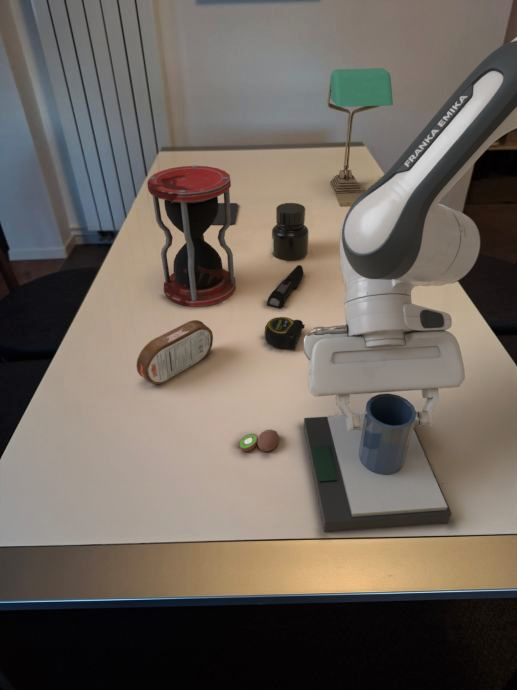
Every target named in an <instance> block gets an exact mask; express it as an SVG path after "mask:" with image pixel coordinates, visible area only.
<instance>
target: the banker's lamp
mask: <svg viewBox="0 0 517 690" xmlns="http://www.w3.org/2000/svg"><path fill="white" fill-rule="evenodd" d="M392 87H393V86H392V77H391V73H390V72H389V71H388V70H387V69H385V68H382V67H375V68H373V67H371V68H342V69H341V68H339V69H338V68H337V69H333V70H332V71H331V74H330V79H329V87H328V95H327V107H328V108H329V109H332V110H335V111H339V112H342V113H347V114H348V115H347V116H348V117H347V127H346V136H345V148H344V159H343V160H344V161H343V169H340V170H339V171H338V174H336V175H334V176H333V177H332V179H331V180H329V185H330V187H331V190H332V192H333V194H334V196H335V200H336V201H337V204H338V206H339V207H340V208H342V207H343V208H347V207H351V206H352V204H353V203H354V202H355V201H356V200H357V198H358V197H359V196H360V195H361V194H362V193H363V190H362V188H361V187H360V185H359V182H358V181H357V179H356V178H355V176H354V175H353V172H352V170H351V169H349V168H350V167H349V166H350V165H349V164H350V155H351V154H350V152H351V142H352V130H353V121H354V116H355V115H356V114H357V113H361V112H362V113H363V112H365V111H369V110H372V109H377V108H380V107H388V106H393V105H394V101H393V89H392ZM331 101H332V102H333V103H334V104H333V103H330V102H331ZM350 107H352V108H354V107H358V108H355V109H353V110H352V112H351V111H350V109H347V108H350Z"/></svg>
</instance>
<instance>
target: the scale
mask: <svg viewBox="0 0 517 690" xmlns="http://www.w3.org/2000/svg"><path fill="white" fill-rule="evenodd" d="M352 414H353V416H360V422H359V423H360V425H361V429H360V430H347V424H346V416H344V415H343V414H332V415H330V414H329V415H327V416H315V417H313V416H312V417H304V418H303V431H304V437H305V442H306V447H307V452H308V458H309V462H310V467H311V473H312V477H313V482H314V488H315V494H316V498H317V505H318V508H319V513H320V519H321V524H322V529H323V533H333V532H347V531H348V532H349V531H360V530H371V529H386V528H400V527H413V526H427V525H428V526H429V525H441V524H449V522H450V519H451V517H452V510H451V509H450V506H449V504H448V501H447V499H446V497H445V495H444V492H443V489H442V488H441V485H440V483H439V480H438V479H437V477H436V475H435V472H434V470H433V468H432V465H431V463H430V460H429V458H428V456H427V453H426V450H425V449H424V446H423V444H422V442H421V440H420V438H419V435H418V433H417V431H416V428H415V427H414V428H413V432H412V436H411V440H410V444H409V448H408V452H407V456H406V460H405V463H404V466H403V467H402V469H401V470H400V471H398V472H397V473H394V474H391V475H380V474H376V473H374V472H371V471H370V470H368V469H367V468H366V467H365V466H364V465H363V464H362V463H361V461H360V459H359V447H360V440H361V434H362V428H363V422H364V415H365V412H363V413H362V412H361V413H352Z"/></svg>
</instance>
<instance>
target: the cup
mask: <svg viewBox="0 0 517 690" xmlns="http://www.w3.org/2000/svg"><path fill="white" fill-rule="evenodd" d="M416 412H417V410H416V409H415V406H414V404H413V403H412V402H411V401H409V400H408V399H407V398H404V397H403V396H400V395H399V394H393V393H380V394H379V393H378V394H376V395H374V396H372V397H370V398H369V399H368V400H367V402H366V405H365V410H364V413H365V415H364V422H363V428H362V434H361V440H360V447H359V459H360V461H361V463H362V464H363V465H364V466H365V467H366V468H367V469H368V470H370V471H371V472H374V473H376V474H380V475H391V474H394V473H397V472H398V471H400V470H401V469H402V467H403V466H404V463H405V460H406V456H407V452H408V448H409V444H410V440H411V436H412V432H413V428H415V424H416V421H417V416H416Z"/></svg>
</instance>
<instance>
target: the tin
mask: <svg viewBox="0 0 517 690" xmlns="http://www.w3.org/2000/svg"><path fill="white" fill-rule="evenodd" d="M213 343H214V334H213V331H212V329H211V328H210V327H208V326H207V325H206V324H205V323H204V322H203V321H201V320H198V319H194V320H189V321H187V322H184V323H182V324H181V325H179V326H177V327H175V328H173V329H171V330H169V331H167V332H165V333H163V334H161V335H159V336H157V337H154V338H153V339H151V340H150V341H149V342H147V344H145V345H144V347H143V348H142V349H141V351H140V352H139V354H138V357H137V359H136V371H137V373H138V375H139V376H140V377H141V378H144V379H145V380H146V381H147V382H148V383H150V384H153V385H161V384H164V383H165V382H168V381H169V380H171V379H173V378H174V377H176V376H178V375H179V374H181V373H184V372H185V371H187V370H188V369H190V368H192V367H194V365H197V364H198V363H200V362H201V361H203V360H205V359H206V357H207V356H208V355H209V353H210V352H211V350H212V348H213Z"/></svg>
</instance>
